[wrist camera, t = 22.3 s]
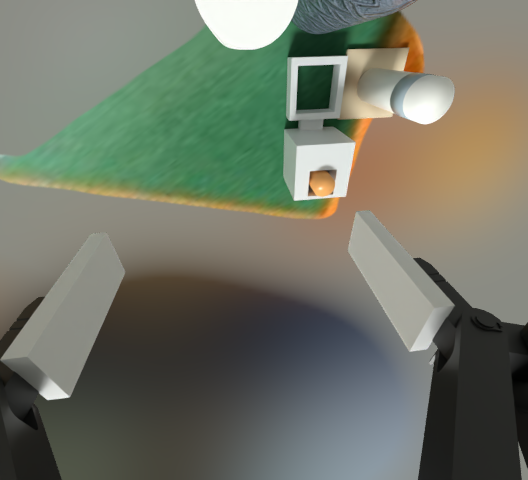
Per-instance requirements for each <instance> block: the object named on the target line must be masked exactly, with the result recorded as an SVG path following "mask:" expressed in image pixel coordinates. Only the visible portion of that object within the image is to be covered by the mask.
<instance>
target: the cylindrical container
mask: <svg viewBox="0 0 528 480" xmlns="http://www.w3.org/2000/svg"><path fill="white" fill-rule="evenodd" d="M195 3H196V5H197V7H198V10H199V12H200V14H201V16H202V18H203V19H204V21H205V23H206V24H207V26H208V27H209V29H210V30H211V31H212V33H213V34H214V35H215V36H216V38H217V39H218V40H219V41H220V42H221V43H222V44H223V45H225V46H226V47H228V48H232V49H249V50H253V49H258V48H262V47H264V46H266V45H268V44H270V43H272V42H273V41H274V40H276V39H277V38H278V37H279V36H280V35H281V34H282V33H283V31H284V30H285V29H286V28H287V26H288V24H289V23H290V21H291V19H292V17H293V15H294V12H295V10H296V7H297V4H298V0H195Z"/></svg>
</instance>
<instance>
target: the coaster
mask: <svg viewBox="0 0 528 480" xmlns="http://www.w3.org/2000/svg"><path fill="white" fill-rule="evenodd" d="M408 51H409V48H380V49H346V56H348V61H347V68H346V76H345V83H344V90H343V97H342V104H341V111H340V118H337V119H338V120H341V119H360V118H377V117H378V118H379V117H392V115H393V113H392V112H389V111H387V110H384V109H381V108H379V107H376V106H373V105H371V104H368V103H366V102H363V101H362V100H360V98H359V97H358V94H357V85H358V82H359V79H360V78H361V76H362V75H363V74H364V73H365V72H366V71H367V70H369V69H372V68H381V69H389V70H397V71H404V67H405V63H406V59H407V55H408Z"/></svg>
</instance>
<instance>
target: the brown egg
mask: <svg viewBox="0 0 528 480" xmlns="http://www.w3.org/2000/svg"><path fill="white" fill-rule="evenodd" d="M309 185H310V186H311V188H312V190H313V191H314V193H315V194H316V195H317V196H320V197H324V196H327V195H329V194H330V193H332V191H333V190H334V188H335V181H334V179H333V178H332V177H331V175H330V174H329V173H328V172H327V171H326V170H321V171H310V176H309Z"/></svg>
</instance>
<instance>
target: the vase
mask: <svg viewBox="0 0 528 480" xmlns="http://www.w3.org/2000/svg"><path fill="white" fill-rule="evenodd" d="M415 1H417V0H298V4H297V7H296V10H295V12H294V15H293V17H292V19H291V21H292V22H293V23H294V24H295V25H296V26H297V27H298V28H300V29H301V30H303V31H305V32H308V33H311V34H324V33H329V32H333V31H336V30H340V29H343V28H346V27H350V26H353V25H357V24H360V23H364V22H367V21H370V20H374V19H377V18H381V17H384V16H387V15H390V14H393V13H395V12H397V11H400V10H402V9H404V8H406V7H408V6H409V5H411V4H413V3H414V2H415Z"/></svg>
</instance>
